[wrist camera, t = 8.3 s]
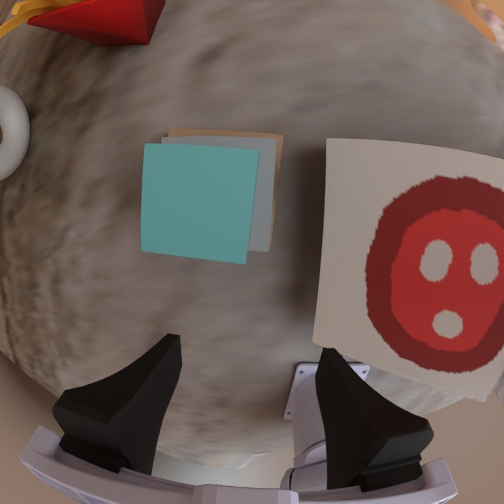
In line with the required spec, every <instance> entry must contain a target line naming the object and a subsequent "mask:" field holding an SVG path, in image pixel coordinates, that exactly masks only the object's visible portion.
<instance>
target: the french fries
mask: <svg viewBox="0 0 504 504" xmlns="http://www.w3.org/2000/svg"><path fill="white" fill-rule="evenodd" d="M165 3H166V1H165V0H26V1H23V2H20V3H17V4H15V6H14V8H13V10H12V13H11V14H12V15H17V16H15V17H14V18H12V19H10V20H9V21H7V22H6V23H4V24H3V25H2V26H0V39H1V38H2V37H3V36H4V35H5V34H7V33H8V32H9V31H11V30H12V29H13V28H15V27H16V26H18V25H19V24H21V23H23V22H24V21H26V20H28V21H27V24H28V25H33V26H37V27H42V28H46V29H50V30H53V31H57V32H61V33H64V34H68V35H71V36H74V37H77V38H80V39H83V40H86V41H89V42H92V43H95V44H98V45H101V46H104V47H106V46H117V45H135V44H149V42H150V40H151V37H152V34H153V32H154V29H155V26H156V24H157V21H158V19H159V17H160V14H161V12H162V9H163V7H164V5H165ZM18 14H19V15H18Z"/></svg>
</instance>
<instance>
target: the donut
mask: <svg viewBox="0 0 504 504" xmlns="http://www.w3.org/2000/svg"><path fill="white" fill-rule="evenodd" d="M0 126H1V129H2V134H3V138H2V143H1V144H0V180H2V179H5V178H7V177H9V176H10V175H11V174H12V173H13V172H14V171H15V170H16V169H17V168H18V167H19V166H20V164H21V162H22V160H23V158H24V156H25V154H26V152H27V148H28V144H29V140H30V123H29V117H28V113H27V110H26V108H25V105H24V103H23V102H22V100H21V99H20V97H19V96H18V95H17V94H16V93H15V92H14V91H12V90H11V89H10V88H8V87H5V86H1V85H0Z"/></svg>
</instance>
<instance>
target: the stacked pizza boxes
mask: <svg viewBox="0 0 504 504" xmlns="http://www.w3.org/2000/svg"><path fill="white" fill-rule="evenodd" d="M312 342H313V343H315V344H317V345H320V346H322V347H325V348H335V349H336V350H337V351H338V352H339V354H342V355H344V356H347V357H349V358H352V359H355V360H357V361H360V362H362V363H365V364H368V365H370V366H373V367H376V368H378V369H381V370H384V371H387V372H389V373H392V374H395V375H398V376H401V377H403V378H406V379H409V380H412V381H415V382H418V383H421V384H424V385H427V386H430V387H433V388H436V389H440V390H443V391H446V392H449V393H453V394H456V395H459V396H463V397H466V398H470V399H473V400H477V401H481V402H485V400H486V399H487V397H488V396H489V394H490V392H491V391H492V389H493V391H494V392H495V393H496V395H497V396H498V398H499V399H500V400H501V402H502V403H503V405H504V159H500V158H496V157H491V156H487V155H482V154H478V153H473V152H467V151H462V150H456V149H450V148H444V147H438V146H430V145H423V144H414V143H405V142H395V141H383V140H367V139H344V138H326V186H325V210H324V228H323V242H322V256H321V267H320V278H319V288H318V298H317V307H316V315H315V323H314V331H313V338H312Z"/></svg>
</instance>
